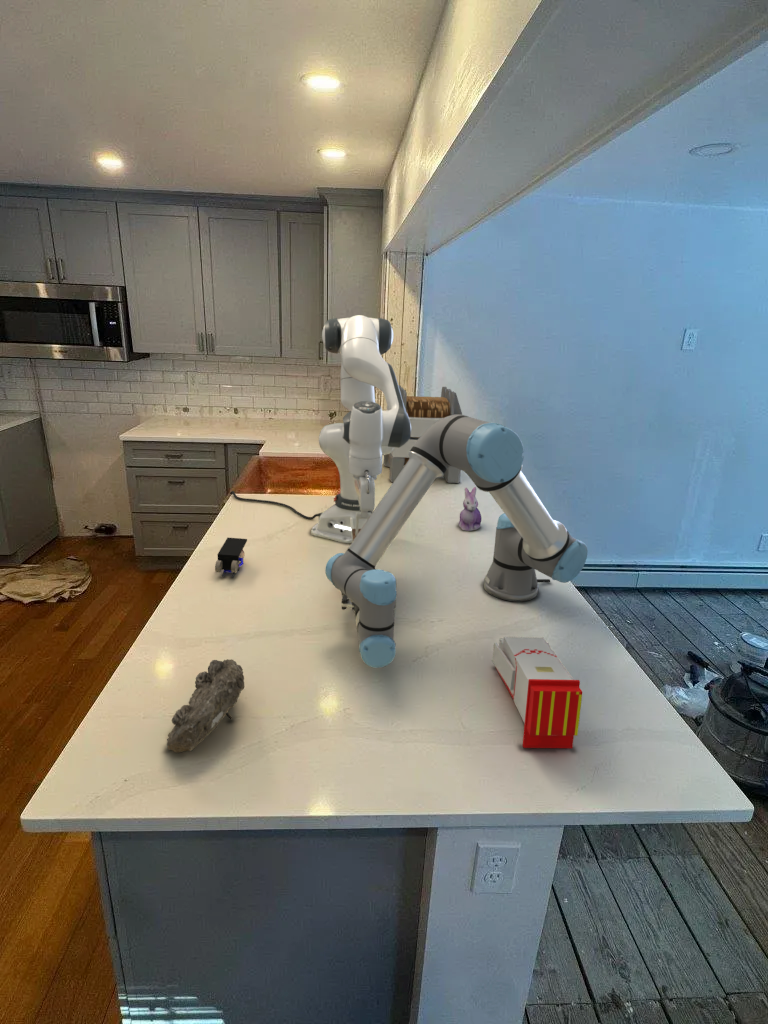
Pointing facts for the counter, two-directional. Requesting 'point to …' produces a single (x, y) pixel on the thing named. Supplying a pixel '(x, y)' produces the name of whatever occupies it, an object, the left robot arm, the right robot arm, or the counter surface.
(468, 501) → the figurine
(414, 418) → the transformer
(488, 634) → the counter surface
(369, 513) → the door
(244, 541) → the figurine character
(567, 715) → the toy
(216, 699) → the fossil
